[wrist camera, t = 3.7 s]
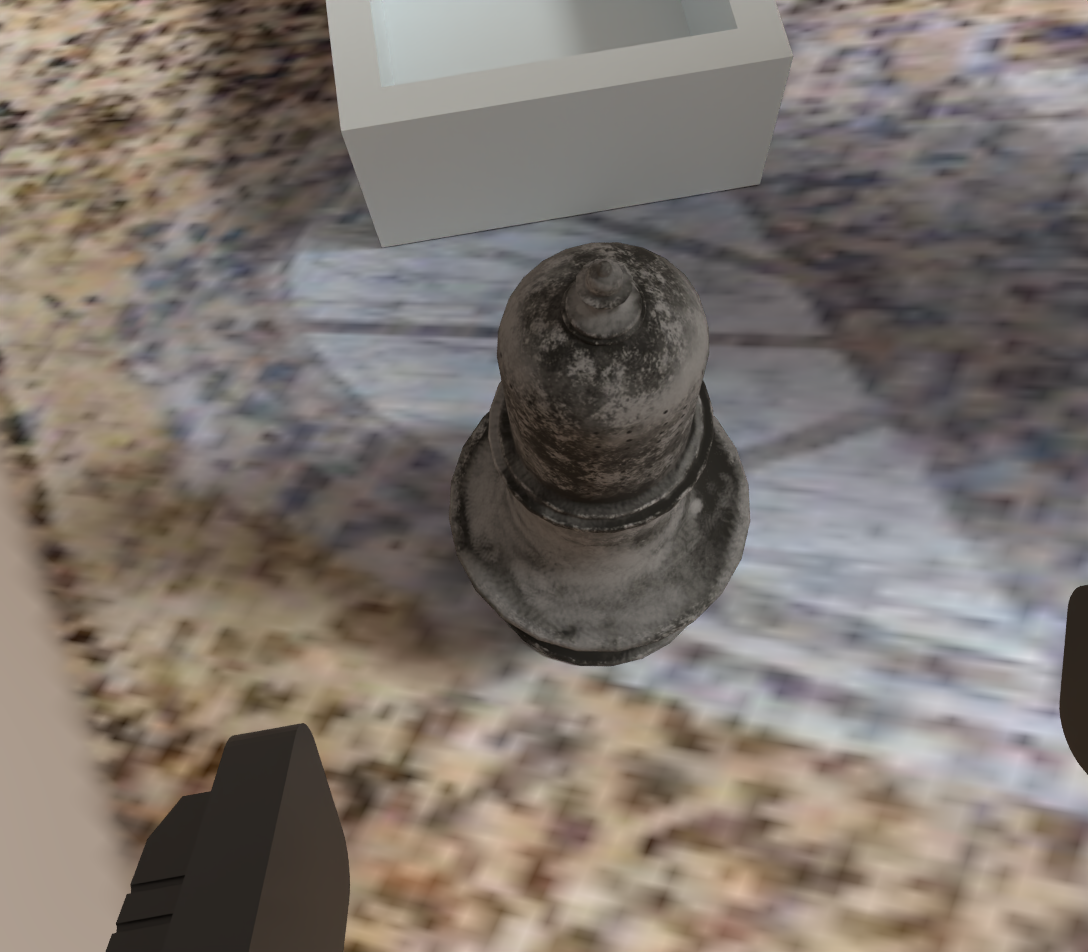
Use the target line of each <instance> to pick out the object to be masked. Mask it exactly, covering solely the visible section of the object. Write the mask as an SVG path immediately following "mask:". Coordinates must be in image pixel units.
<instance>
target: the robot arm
mask: <svg viewBox="0 0 1088 952" xmlns="http://www.w3.org/2000/svg"><path fill="white" fill-rule="evenodd" d="M1059 709H1060V719H1061V724H1062V728H1063V732H1064V735H1065V738H1066V741H1067V743H1068V745H1069V748H1070V750H1071V751H1072V753H1073V755H1074V757H1075V759H1076V760H1077V762H1078V763H1079V765H1080V766H1081V767H1082V768H1083V770H1084V771H1085V772H1086V773H1087V774H1088V585H1084V586H1080V587H1078V588H1076V589H1075V590H1074V591H1073V593H1072V595H1071V597H1070V600H1069V604H1068V612H1067V623H1066V635H1065V646H1064V658H1063V669H1062V681H1061V692H1060V708H1059ZM349 895H350V874H349V861H348V853H347V847H346V842H345V837H344V834H343V830H342V827H341V824H340V820H339V817H338V814H337V811H336V808H335V804H334V801H333V798H332V795H331V792H330V788H329V785H328V782H327V779H326V776H325V773H324V769H323V766H322V763H321V760H320V757H319V753H318V750H317V747H316V744H315V741H314V738H313V735H312V733H311V731H310V729H309V728H308V726H307V725H306V724H304V723H301V724H296V725H290V726H285V727H279V728H274V729H268V730H262V731H257V732H251V733H246V734H240V735H235V736H232V737H230V738H229V740H228V741H227V743H226V746H225V748H224V752H223V755H222V758H221V761H220V764H219V768H218V771H217V774H216V777H215V780H214V784H213V787H212V790H211V791H210V792H205V793H199V794H194V795H188V796H183V797H182V798H181V799H180V800H179V802H178V803H177V804H176V805H175V806H174V808H173V809H172V810H171V811H170V812H169V814H168V815H167V816H166V817H165V818H164V820H163V821H162V822H161V823H160V825H159V826H158V827H157V828H156V829H155V831H154V832H153V833H152V834H151V835H150V837H149V838H148V839H147V842H146V844H145V847H144V850H143V852H142V855H141V858H140V860H139V863H138V866H137V869H136V871H135V874H134V877H133V879H132V882H131V894H127V895H126V898H125V901H124V904H123V906H122V909H121V912H120V914H119V917H118V920H117V922H116V925H117V932H116V933H114V934H112V936H111V938H110V941H109V944H108V947H107V949H106V952H343V950H344V941H345V932H346V923H347V914H348V905H349Z"/></svg>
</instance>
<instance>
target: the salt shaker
mask: <svg viewBox="0 0 1088 952" xmlns="http://www.w3.org/2000/svg"><path fill="white" fill-rule="evenodd" d="M708 355H709V332H708V324H707V320H706V316H705V313H704V310H703V307H702V304H701V301H700V298H699V295H698V293H697V292H696V290H695V289H694V288H693V286H692V285H691V283H690V282H689V280H688V279H687V277H686V276H685V275H684V274H683V273H682V272H681V271H680V270H679V269H677V268H676V267H675V266H674V265H673V264H671V263H670V262H669V261H668V260H667V259H665V258H663V257H661V256H659V255H657V254H655V253H653V252H651V251H649V250H647V249H644V248H641V247H637V246H632V245H628V244H623V243H618V242H612V243H589V244H585V245H581V246H577V247H573V248H568V249H565V250H563V251H561V252H559V253H557V254H556V255H554V256H552V257H550V258H548V259H546V260H544V261H542V262H541V263H540V264H539V265H538V266H536V267H535V268H534V269H533V270H532V271H531V272H529V273H528V274H527V275H526V276H525V277H524V278H523V279H522V280H521V282H520V283H519V285H518V286H517V288H516V289H515V290H514V292H513V293H512V295H511V296H510V298H509V300H508V303H507V306H506V309H505V311H504V314H503V317H502V320H501V323H500V327H499V330H498V345H497V359H498V364H499V369H500V375H501V382H500V383H499V385H498V388H497V391H496V394H495V397H494V399H493V402H492V405H491V408H490V411H489V412H488V413H487V414H486V415H485V416H484V417H483V418H482V420H481V421H480V423H479V424H478V426H477V427H476V428H475V430H474V431H473V433H472V434H471V436H470V437H469V439H468V440H467V442H466V443H465V445H464V446H463V449H462V451H461V454H460V457H459V460H458V463H457V466H456V469H455V472H454V475H453V478H452V481H451V493H450V510H449V521H450V525H451V530H452V535H453V539H454V544H455V548H456V553H457V556H458V558H459V560H460V562H461V564H462V566H463V568H464V569H465V571H466V573H467V575H468V577H469V579H470V581H471V582H472V584H473V586H474V588H475V590H476V591H477V592H478V593H479V594H480V595H481V596H482V598H483V599H484V600H485V601H486V602H487V603H488V604H489V605H490V606H491V607H492V608H493V609H494V610H495V611H496V612H497V613H498V614H499V615H500V616H501V617H502V618H503V619H504V620H505V621H506V622H507V623H508V624H509V625H510V626H511V628H512V629H513V630H514V631H515V632H516V633H517V634H518V635H519V636H520V637H521V638H522V639H523V640H524V641H525V642H527V643H529V644H530V645H532V646H534V647H535V648H537V649H539V650H540V651H542V652H544V653H545V654H547V655H548V656H550V657H553V658H556V659H560V660H563V661H567V662H570V663H574V664H577V665H581V666H615V665H619V664H623V663H626V662H630V661H634V660H638V659H642V658H644V657H646V656H648V655H650V654H651V653H653V652H655V651H657V650H659V649H660V648H662V647H664V646H666V645H667V644H669V643H670V642H671V641H672V640H673V639H674V638H675V637H676V636H677V635H678V634H679V633H680V632H681V631H682V630H683V629H684V628H685V627H686V626H687V625H689V624H691V623H692V622H694V621H695V620H696V619H697V618H698V617H699V616H700V615H701V614H702V613H703V612H704V611H705V610H706V609H707V608H708V607H709V606H710V605H711V604H712V603H713V602H714V601H715V600H716V599H717V598H718V597H719V596H720V595H721V594H722V592H723V591H724V589H725V587H726V585H727V584H728V582H729V580H730V578H731V576H732V575H733V573H734V571H735V569H736V567H737V566H738V564H739V562H740V560H741V558H742V554H743V550H744V546H745V541H746V537H747V533H748V528H749V524H750V508H749V489H748V482H747V479H746V476H745V473H744V470H743V467H742V464H741V461H740V458H739V455H738V452H737V449H736V447H735V446H734V444H733V443H732V441H731V440H730V438H729V437H728V435H727V434H726V432H725V431H724V429H723V428H722V426H721V425H720V423H719V422H718V420H717V419H716V417H715V416H713V408H712V405H711V401H710V398H709V395H708V392H707V389H706V386H705V383H704V382H703V376H704V372H705V367H706V363H707V359H708Z"/></svg>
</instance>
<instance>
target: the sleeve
mask: <svg viewBox="0 0 1088 952" xmlns="http://www.w3.org/2000/svg"><path fill="white" fill-rule="evenodd" d="M326 8H327V16H328V25H329V33H330V42H331V50H332V59H333V67H334V76H335V85H336V93H337V102H338V110H339V119H340V127H341V133H342V136H343V138H344V141H345V144H346V147H347V150H348V153H349V155H350V158H351V161H352V164H353V167H354V170H355V173H356V175H357V178H358V181H359V184H360V187H361V190H362V192H363V195H364V198H365V201H366V204H367V207H368V210H369V212H370V215H371V218H372V221H373V224H374V227H375V229H376V232H377V235H378V238H379V241H380V244H381V247H382V248H383V247H389V246H395V245H401V244H407V243H413V242H419V241H425V240H431V239H437V238H443V237H449V236H455V235H461V234H467V233H473V232H478V231H484V230H490V229H496V228H502V227H508V226H514V225H520V224H526V223H532V222H538V221H544V220H550V219H556V218H562V217H568V216H574V215H580V214H586V213H592V212H598V211H604V210H609V209H615V208H621V207H627V206H633V205H639V204H645V203H651V202H657V201H663V200H669V199H675V198H681V197H687V196H693V195H699V194H705V193H711V192H717V191H723V190H729V189H735V188H741V187H746V186H752V185H758V184H760V182H761V178H762V174H763V170H764V167H765V163H766V159H767V155H768V151H769V147H770V144H771V140H772V136H773V132H774V128H775V124H776V121H777V117H778V113H779V109H780V105H781V101H782V97H783V94H784V90H785V86H786V82H787V78H788V74H789V71H790V67H791V63H792V59H793V54H792V51H791V48H790V45H789V41H788V38H787V35H786V32H785V29H784V26H783V23H782V20H781V17H780V14H779V11H778V8H777V5H776V2H775V0H326Z"/></svg>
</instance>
